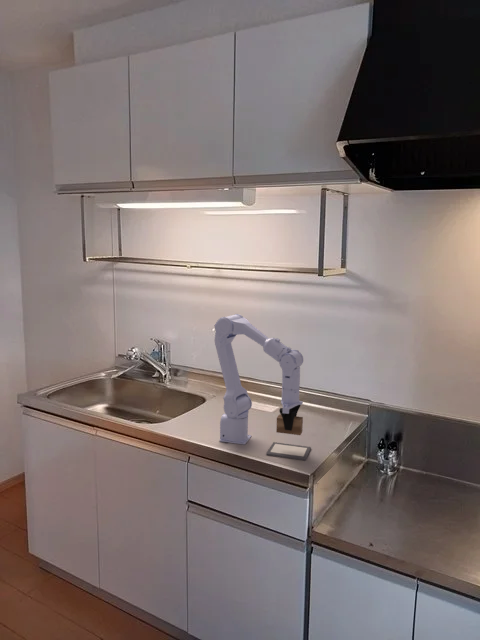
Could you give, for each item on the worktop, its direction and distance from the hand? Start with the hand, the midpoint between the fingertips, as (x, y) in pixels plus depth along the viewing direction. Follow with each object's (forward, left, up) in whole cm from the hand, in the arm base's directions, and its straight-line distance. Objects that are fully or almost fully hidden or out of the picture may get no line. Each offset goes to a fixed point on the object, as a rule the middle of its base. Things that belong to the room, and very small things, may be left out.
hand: (289, 427), depth 170 cm
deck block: (0, 0, -2) cm, 2 cm away
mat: (0, 0, -8) cm, 8 cm away
